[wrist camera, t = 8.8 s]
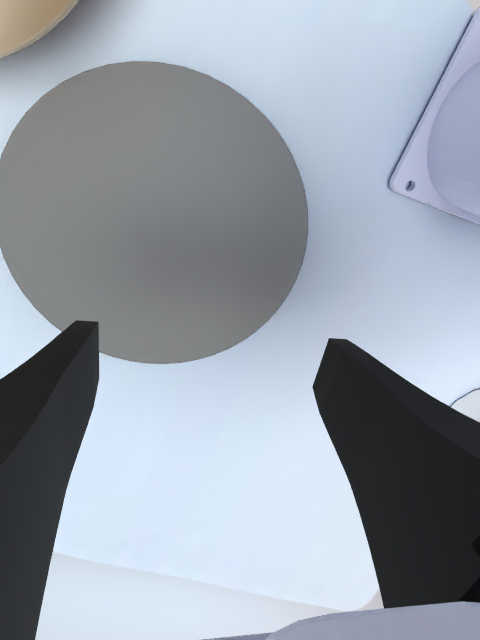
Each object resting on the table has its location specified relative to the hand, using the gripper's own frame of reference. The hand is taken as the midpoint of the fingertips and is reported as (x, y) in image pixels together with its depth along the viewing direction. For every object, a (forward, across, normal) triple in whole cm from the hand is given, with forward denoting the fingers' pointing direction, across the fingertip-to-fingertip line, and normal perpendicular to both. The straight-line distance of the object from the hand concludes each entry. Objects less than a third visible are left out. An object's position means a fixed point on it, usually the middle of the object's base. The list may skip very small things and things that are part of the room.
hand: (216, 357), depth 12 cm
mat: (+9, +2, 0) cm, 10 cm away
